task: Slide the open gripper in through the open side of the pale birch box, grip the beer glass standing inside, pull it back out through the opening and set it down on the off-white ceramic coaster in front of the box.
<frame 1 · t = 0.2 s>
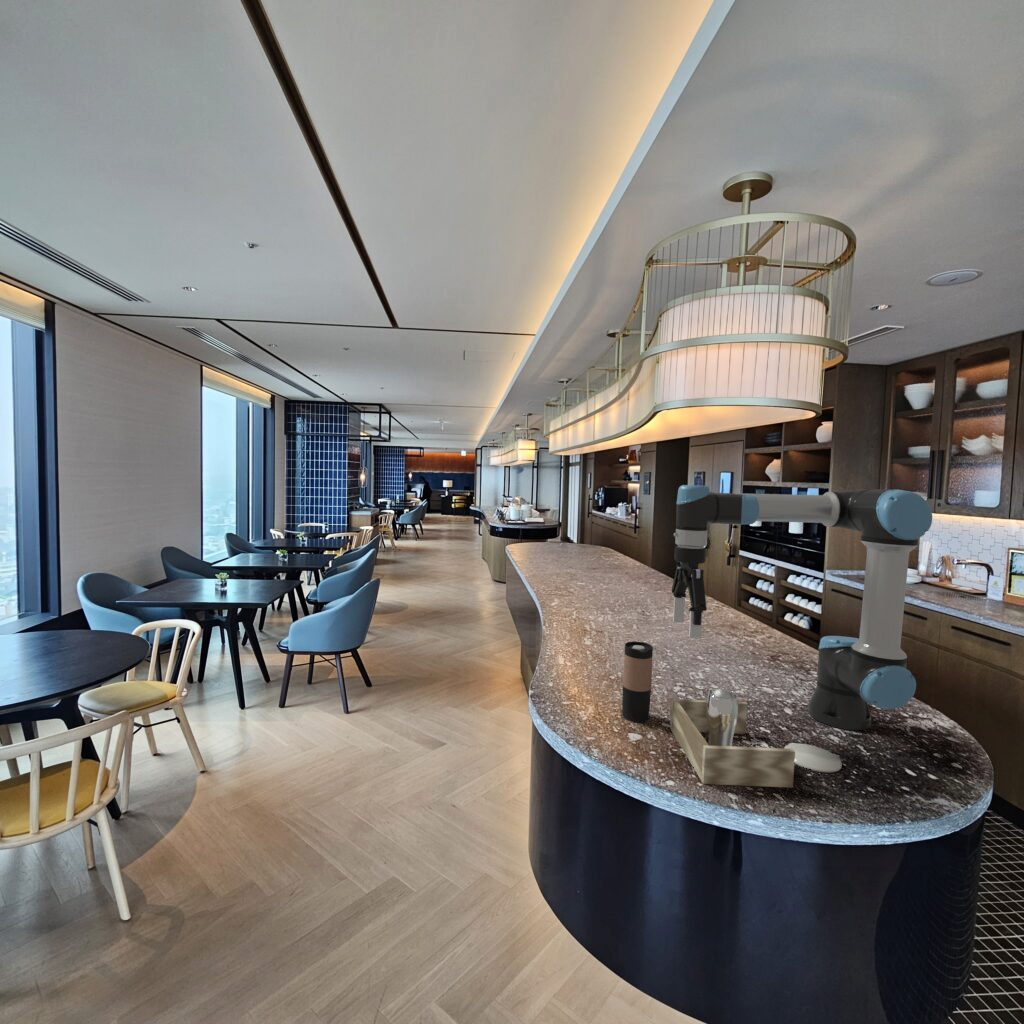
hand: (686, 629, 134), 28 cm above the table, tool pointing down, fingers open, 13 cm apart
open side box: (727, 755, 126), on the table
beer glass: (719, 755, 126), on the table
coaster: (811, 758, 126), on the table
travel mug: (635, 717, 146), on the table
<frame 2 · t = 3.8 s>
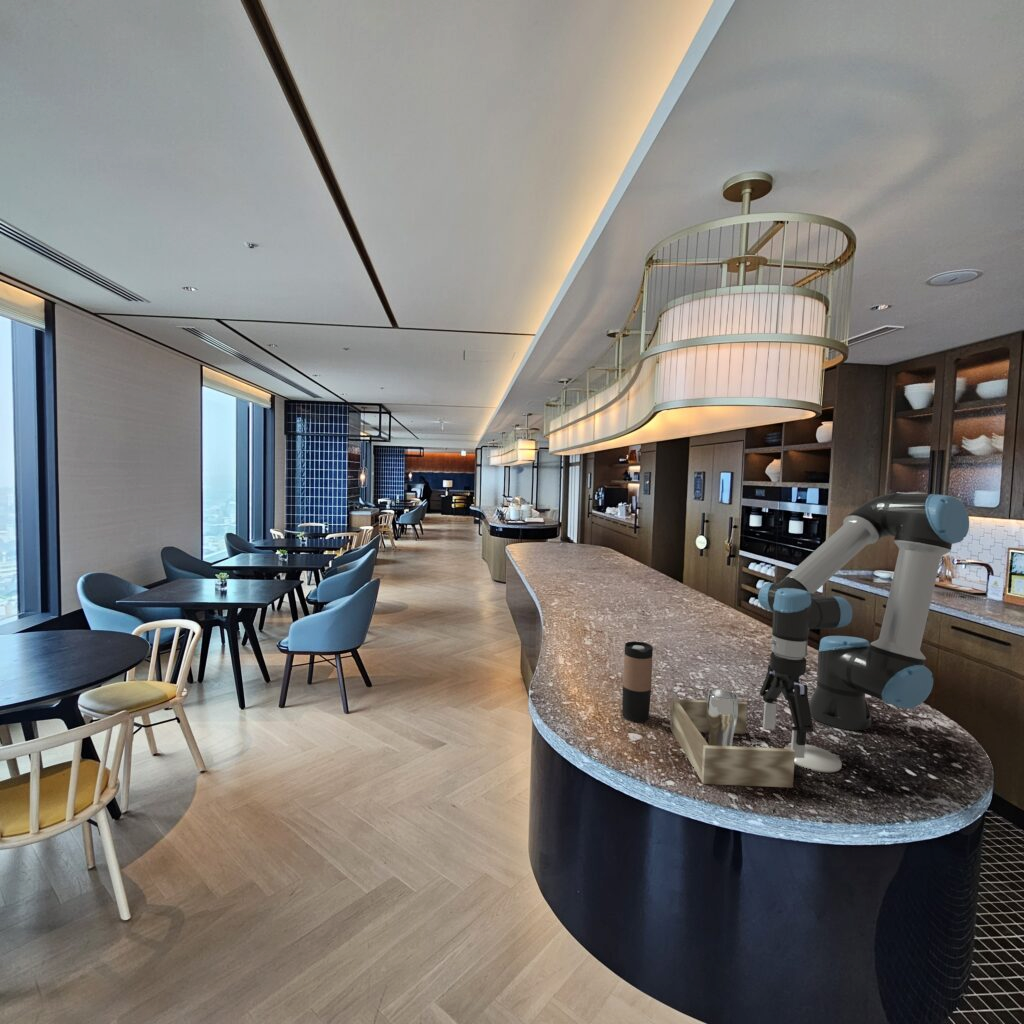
hand: (782, 742, 126), 4 cm above the table, tool pointing down, fingers open, 13 cm apart
nothing on the table moved.
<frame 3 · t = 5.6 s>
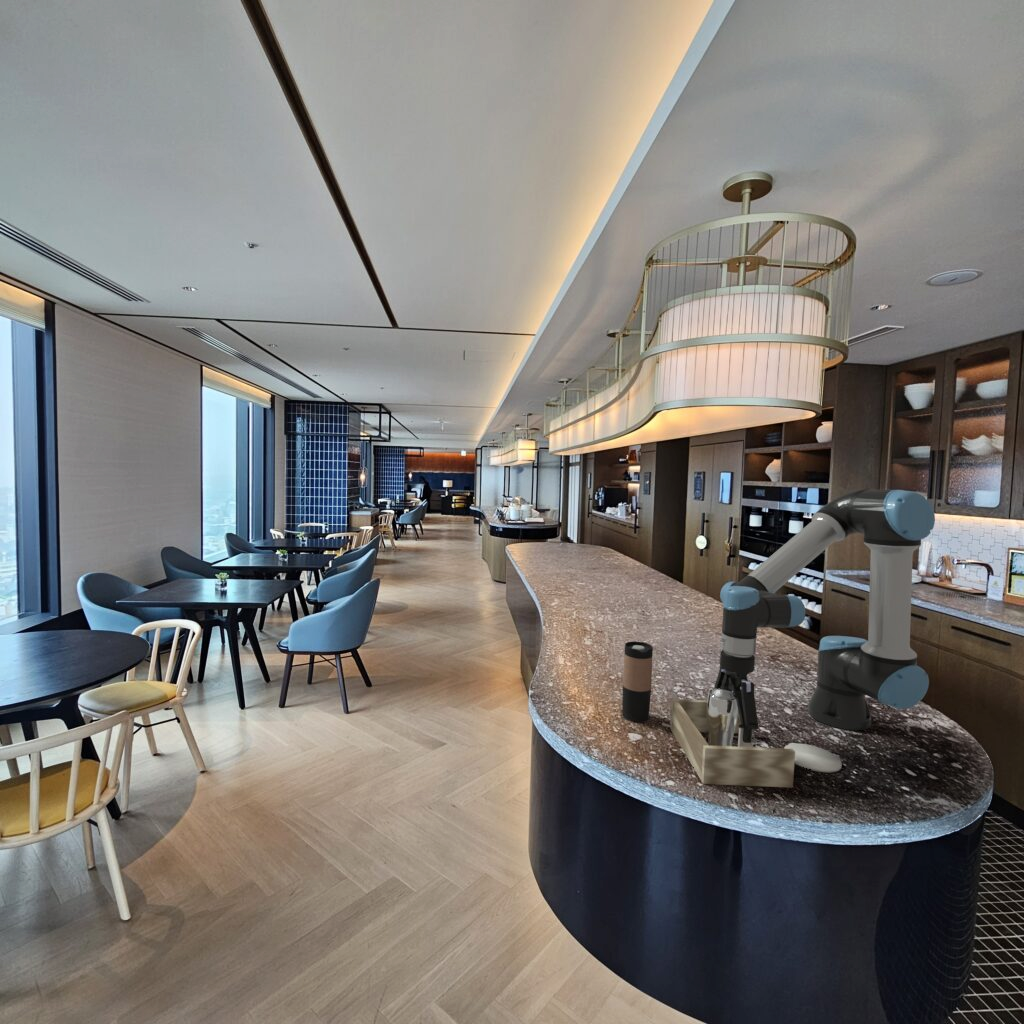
hand: (732, 739, 126), 4 cm above the table, tool pointing down, fingers open, 13 cm apart
nothing on the table moved.
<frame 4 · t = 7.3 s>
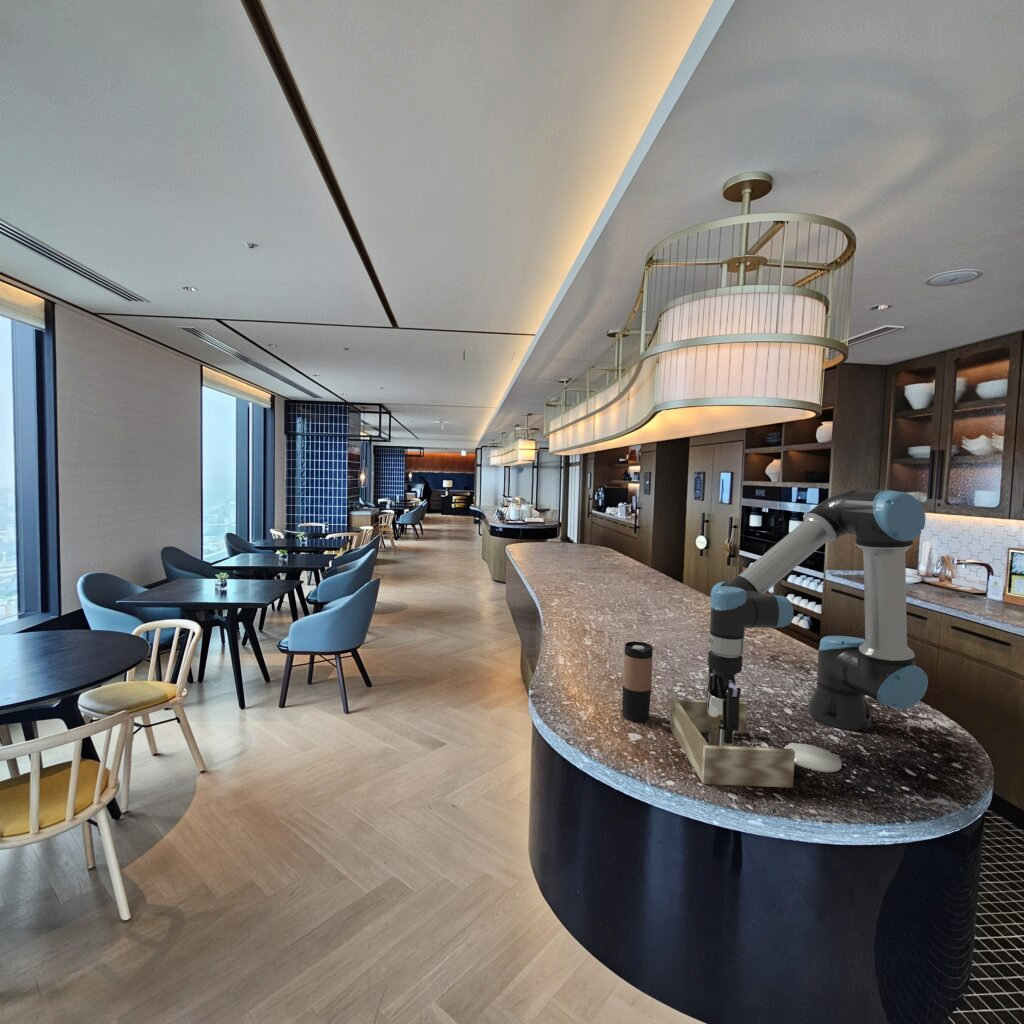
hand: (719, 746, 126), 2 cm above the table, tool pointing down, fingers closed on beer glass, 6 cm apart
beer glass: (719, 755, 126), on the table, touching gripper
everything else where it was.
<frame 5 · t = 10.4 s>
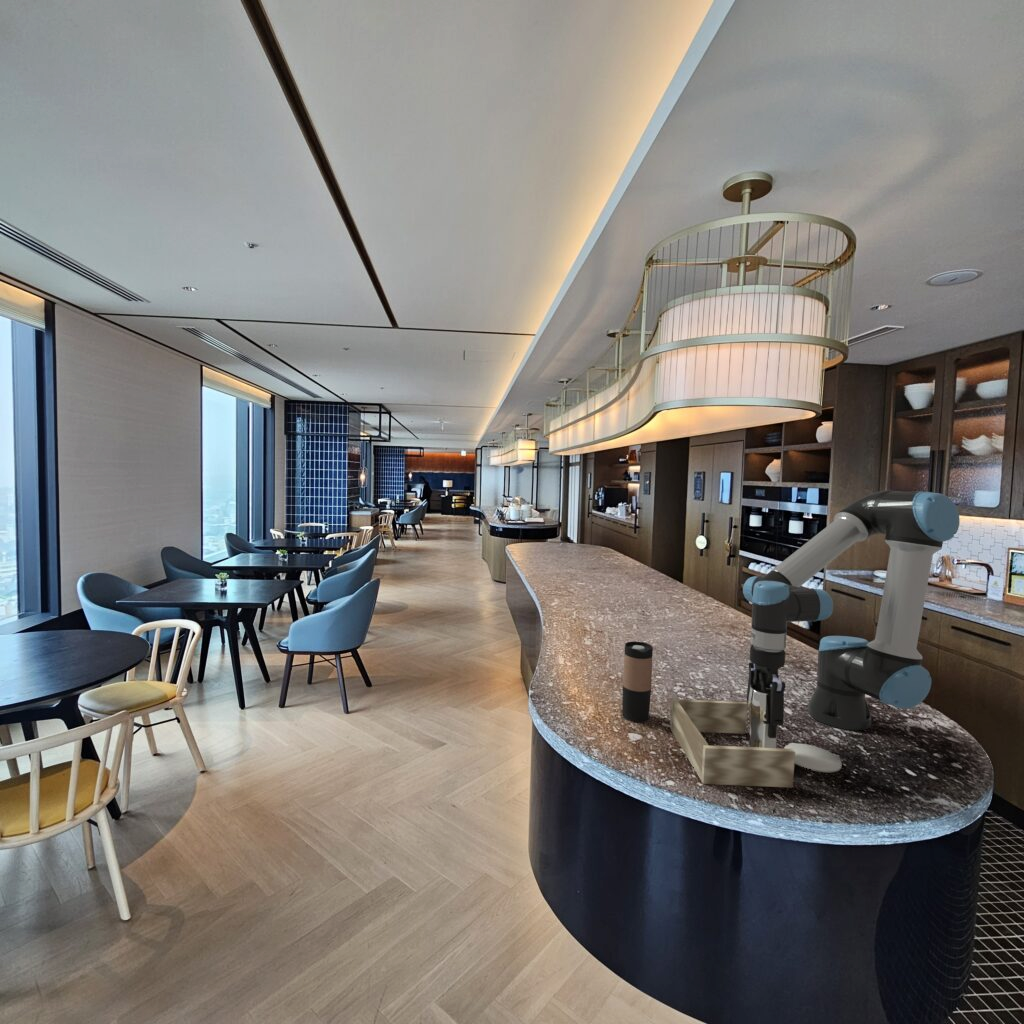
hand: (762, 741, 126), 4 cm above the table, tool pointing down, fingers closed on beer glass, 6 cm apart
beer glass: (761, 750, 126), point 1 cm above the table, touching gripper
everything else where it was.
when the fingers open (4 cm above the table, at t = 13.4 s): beer glass drops 1 cm, resting on coaster.
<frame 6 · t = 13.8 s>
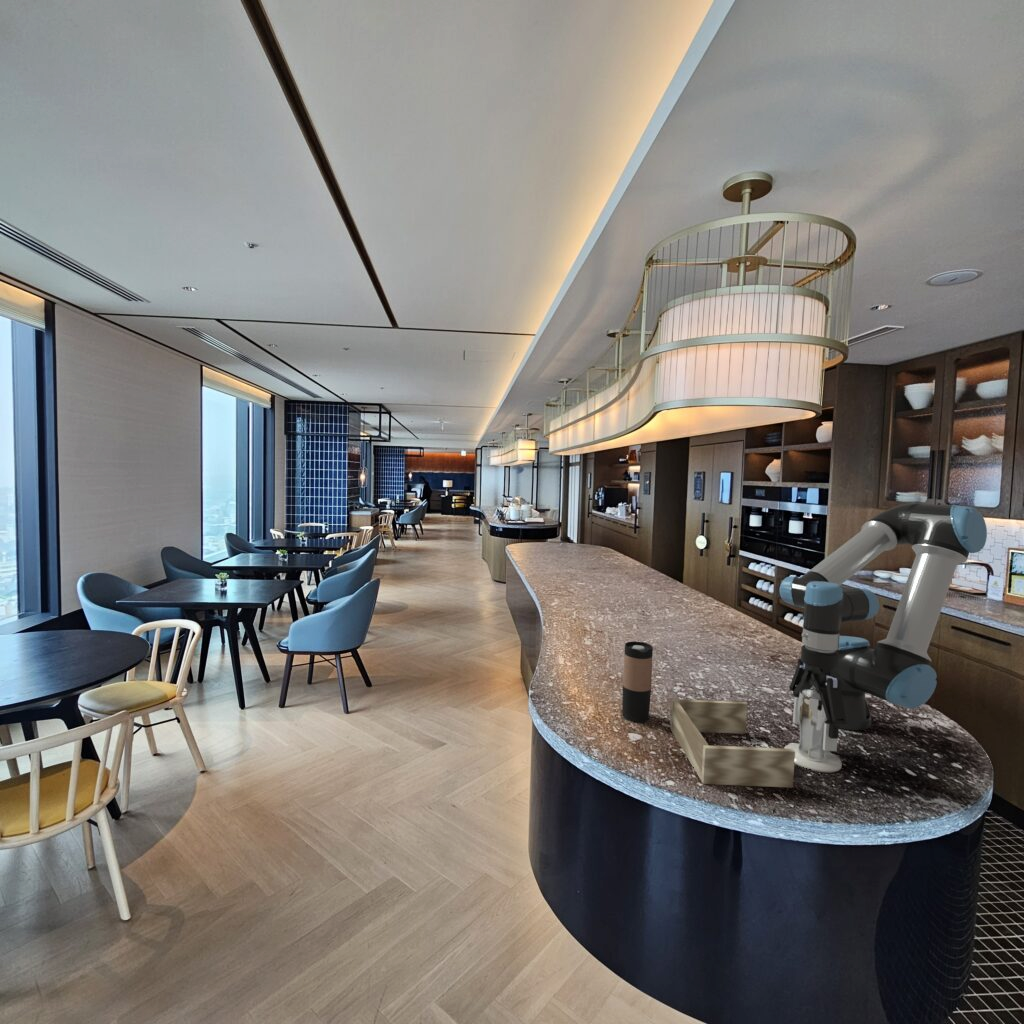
hand: (813, 736, 126), 6 cm above the table, tool pointing down, fingers open, 12 cm apart
beer glass: (811, 755, 126), resting on coaster
everything else where it was.
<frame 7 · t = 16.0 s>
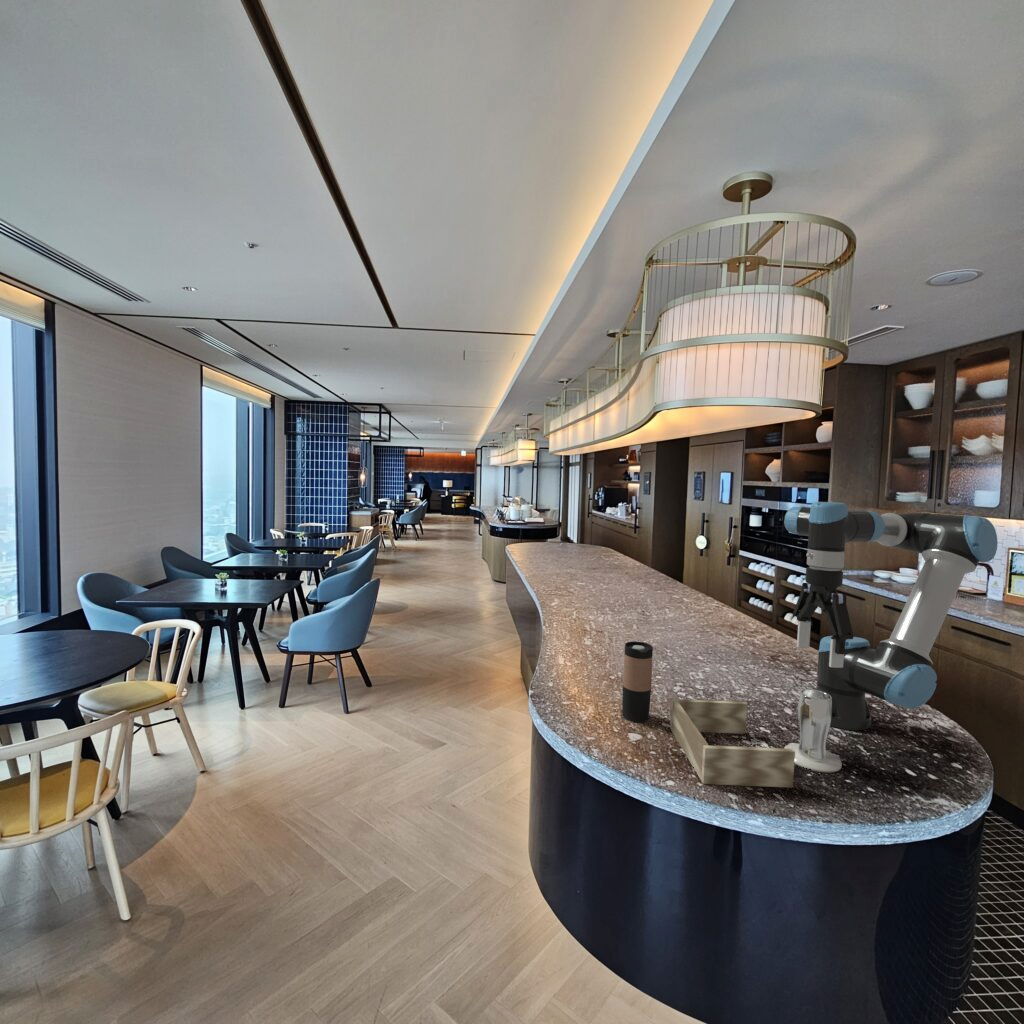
hand: (818, 656, 125), 25 cm above the table, tool pointing down, fingers open, 13 cm apart
nothing on the table moved.
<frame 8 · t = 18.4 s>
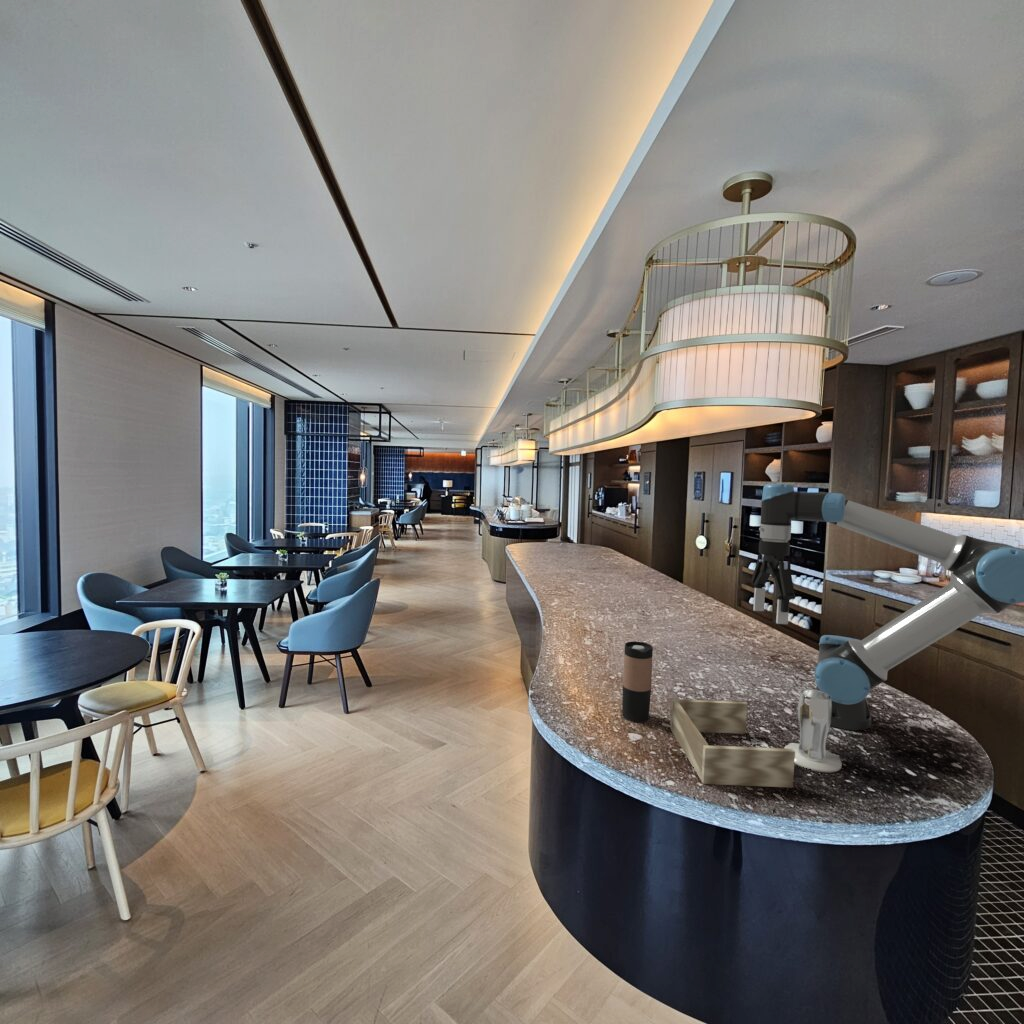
hand: (769, 617, 145), 29 cm above the table, tool pointing down, fingers open, 13 cm apart
nothing on the table moved.
at the end: beer glass inside the target area on the coaster (0.4 cm from its centre), point 0.4 cm above the coaster's base; beer glass tilted 0°; the gripper is holding nothing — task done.
